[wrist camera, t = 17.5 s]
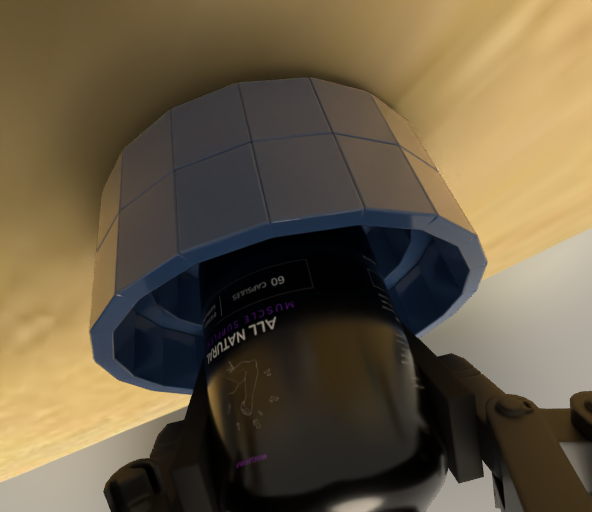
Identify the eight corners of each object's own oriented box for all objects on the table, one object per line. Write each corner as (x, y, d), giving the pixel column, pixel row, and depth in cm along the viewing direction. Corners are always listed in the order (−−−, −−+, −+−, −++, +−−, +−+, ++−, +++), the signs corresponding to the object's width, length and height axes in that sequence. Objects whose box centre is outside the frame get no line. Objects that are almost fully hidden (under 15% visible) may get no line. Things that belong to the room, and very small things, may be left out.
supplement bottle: (196, 188, 11) (260, 817, 5) (387, 189, 14) (603, 634, 7) (193, 296, 17) (223, 666, 10) (331, 285, 19) (425, 587, 13)
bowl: (156, 302, 21) (158, 413, 18) (27, 79, 10) (-31, 264, 7) (375, 265, 23) (412, 358, 20) (467, 49, 12) (584, 178, 9)
